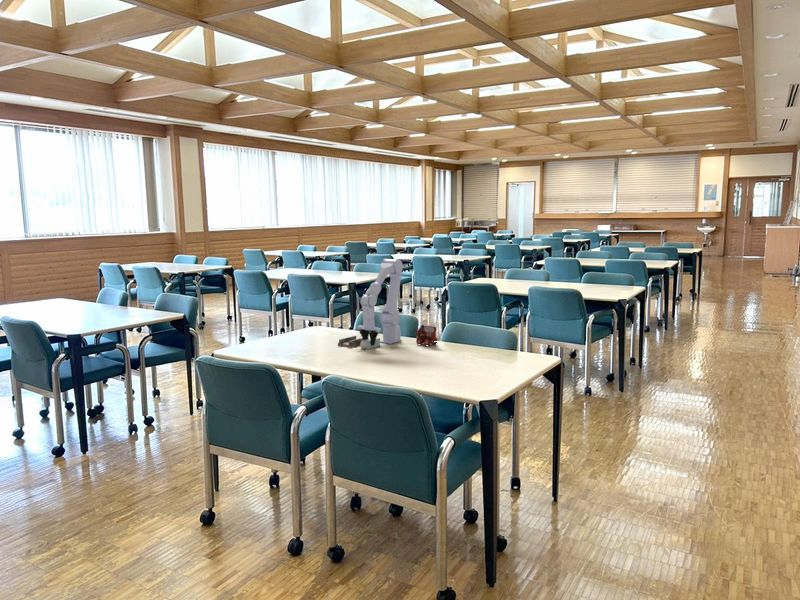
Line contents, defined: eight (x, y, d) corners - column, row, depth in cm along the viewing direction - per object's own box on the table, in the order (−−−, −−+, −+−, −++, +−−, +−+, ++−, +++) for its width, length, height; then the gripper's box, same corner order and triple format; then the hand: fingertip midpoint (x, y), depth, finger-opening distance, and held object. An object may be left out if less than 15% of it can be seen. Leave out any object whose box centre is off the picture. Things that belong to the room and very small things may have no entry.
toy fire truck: (421, 342, 313) (421, 322, 311) (440, 345, 305) (440, 325, 303) (413, 344, 308) (412, 324, 306) (431, 347, 299) (431, 327, 298)
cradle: (353, 341, 317) (353, 335, 317) (367, 343, 311) (367, 337, 311) (337, 345, 308) (337, 339, 308) (351, 347, 302) (351, 341, 301)
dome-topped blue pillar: (374, 344, 308) (374, 337, 307) (380, 345, 305) (380, 338, 305) (358, 349, 299) (358, 341, 298) (364, 350, 296) (364, 342, 296)
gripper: (353, 318, 301) (353, 344, 303) (374, 321, 292) (374, 347, 294) (362, 316, 307) (363, 341, 309) (383, 319, 298) (384, 345, 300)
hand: (369, 344), depth 302 cm, fingers closed on dome-topped blue pillar, 4 cm apart
